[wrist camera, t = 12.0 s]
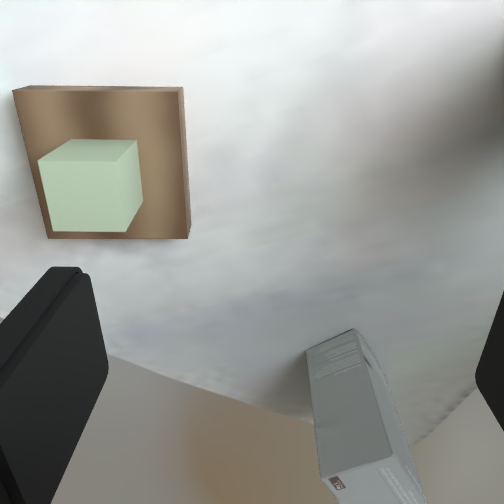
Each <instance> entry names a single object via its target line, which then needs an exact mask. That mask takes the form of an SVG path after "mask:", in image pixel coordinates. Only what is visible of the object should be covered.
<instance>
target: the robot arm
mask: <svg viewBox="0 0 504 504" xmlns="http://www.w3.org/2000/svg"><path fill="white" fill-rule="evenodd" d="M107 374H108V360H107V354H106V350H105V345H104V340H103V336H102V331H101V326H100V321H99V317H98V312H97V307H96V302H95V298H94V293H93V288H92V283H91V279H90V276H89V275H88V274H87V273H83V272H82V270H81V269H80V268H79V267H51V268H50V269H48V271H47V272H46V273H45V274H44V275H43V276H42V277H41V279H40V280H39V281H38V282H37V283H36V284H35V285H34V286H33V288H32V289H31V290H30V291H29V292H28V293H27V294H26V295H25V297H24V298H23V299H22V300H21V301H20V302H19V303H18V305H17V306H16V307H15V308H14V309H13V310H12V311H11V312H10V314H9V315H8V316H7V317H6V318H5V319H4V320H3V322H2V323H1V324H0V504H51V501H52V499H53V497H54V495H55V492H56V490H57V488H58V486H59V483H60V481H61V479H62V477H63V475H64V472H65V470H66V468H67V465H68V463H69V461H70V459H71V457H72V454H73V452H74V450H75V448H76V445H77V443H78V441H79V439H80V437H81V434H82V432H83V430H84V427H85V425H86V423H87V421H88V419H89V416H90V414H91V412H92V410H93V407H94V405H95V403H96V401H97V399H98V396H99V394H100V392H101V390H102V387H103V385H104V383H105V381H106V378H107ZM475 379H476V384H477V386H478V389H479V390H480V392H481V394H482V395H483V397H484V399H485V400H486V402H487V404H488V405H489V407H490V409H491V410H492V412H493V414H494V416H495V417H496V419H497V421H498V423H499V424H500V426H501V427H502V429H503V431H504V292H503V295H502V298H501V301H500V304H499V306H498V309H497V312H496V315H495V318H494V321H493V323H492V326H491V329H490V332H489V335H488V338H487V341H486V343H485V346H484V349H483V352H482V355H481V358H480V361H479V363H478V366H477V369H476V373H475Z"/></svg>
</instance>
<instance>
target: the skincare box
mask: <svg viewBox="0 0 504 504" xmlns="http://www.w3.org/2000/svg"><path fill="white" fill-rule="evenodd" d="M305 353H306V359H307V367H308V376H309V384H310V392H311V401H312V409H313V417H314V426H315V435H316V444H317V453H318V461H319V470H320V477H321V481H322V482H323V483H324V484H325V485H326V487H327V488H328V489H329V491H330V492H331V493H332V494H333V495H334V496H335V498H336V499H337V500H338V504H428V503H427V500H426V497H425V495H424V491H423V488H422V486H421V482H420V480H419V476H418V474H417V470H416V467H415V465H414V461H413V458H412V455H411V453H410V449H409V446H408V443H407V440H406V437H405V434H404V432H403V429H402V425H401V422H400V419H399V416H398V413H397V410H396V407H395V404H394V401H393V398H392V395H391V392H390V389H389V386H388V383H387V380H386V377H385V374H384V373H383V371H382V369H381V367H380V365H379V364H378V362H377V360H376V358H375V357H374V355H373V353H372V352H371V350H370V349H369V347H368V345H367V344H366V342H365V341H364V339H363V338H362V337H361V335H360V334H359V332H358V331H357V330H355V329H352V330H350V331H348V332H346V333H344V334H341V335H339V336H337V337H335V338H333V339H330V340H328V341H326V342H323V343H321V344H319V345H317V346H314V347H312V348H310V349H308V350H306V351H305Z"/></svg>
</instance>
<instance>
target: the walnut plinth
mask: <svg viewBox="0 0 504 504" xmlns="http://www.w3.org/2000/svg"><path fill="white" fill-rule="evenodd" d="M12 92H13V96H14V100H15V104H16V108H17V112H18V116H19V121H20V125H21V129H22V133H23V137H24V141H25V145H26V150H27V154H28V158H29V162H30V166H31V170H32V174H33V179H34V183H35V187H36V191H37V195H38V199H39V204H40V208H41V212H42V216H43V220H44V224H45V228H46V233H47V237H48V239H188V236H189V232H190V228H191V211H190V194H189V178H188V162H187V145H186V129H185V112H184V96H183V87H125V86H27V87H23V88H19V89H15V90H12ZM70 139H99V140H137V147H138V157H139V166H140V175H141V185H142V194H143V202H142V204H141V206H140V207H139V209H138V211H137V213H136V214H135V216H134V218H133V220H132V221H131V223H130V225H129V227H128V228H127V230H126V232H81V231H53V228H52V224H51V219H50V215H49V210H48V206H47V201H46V197H45V192H44V188H43V183H42V179H41V174H40V170H39V165H38V160H39V159H41V158H42V157H44V156H45V155H47V154H49V153H50V152H52V151H53V150H55V149H56V148H58V147H59V146H61V145H63V144H64V143H66V142H67V141H69V140H70Z"/></svg>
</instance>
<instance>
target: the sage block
mask: <svg viewBox="0 0 504 504" xmlns="http://www.w3.org/2000/svg"><path fill="white" fill-rule="evenodd" d="M38 165H39V170H40V174H41V179H42V183H43V188H44V192H45V197H46V201H47V206H48V210H49V215H50V219H51V224H52V228H53V231H81V232H126V230H127V228H128V227H129V225H130V223H131V221H132V220H133V218H134V216H135V214H136V213H137V211H138V209H139V207H140V206H141V204H142V202H143V194H142V185H141V175H140V166H139V157H138V147H137V140H99V139H70V140H69V141H67V142H66V143H64V144H63V145H61V146H59V147H58V148H56V149H55V150H53V151H52V152H50V153H49V154H47V155H45V156H44V157H42V158H41V159H39V160H38Z"/></svg>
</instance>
